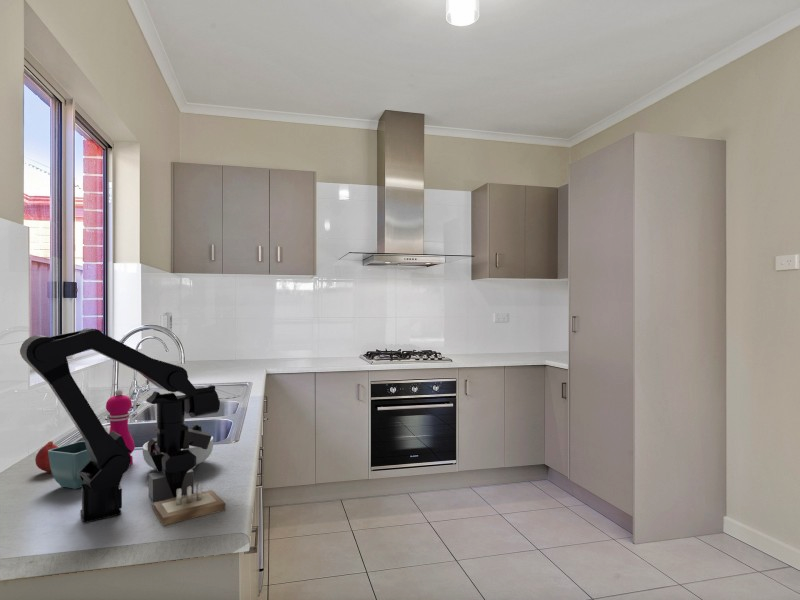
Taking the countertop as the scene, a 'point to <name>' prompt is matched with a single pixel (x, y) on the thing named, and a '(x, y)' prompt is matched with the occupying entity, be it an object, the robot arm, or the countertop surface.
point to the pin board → (188, 507)
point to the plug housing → (166, 486)
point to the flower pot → (68, 464)
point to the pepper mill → (120, 417)
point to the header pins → (188, 494)
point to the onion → (44, 457)
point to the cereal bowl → (197, 451)
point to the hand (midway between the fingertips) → (171, 490)
